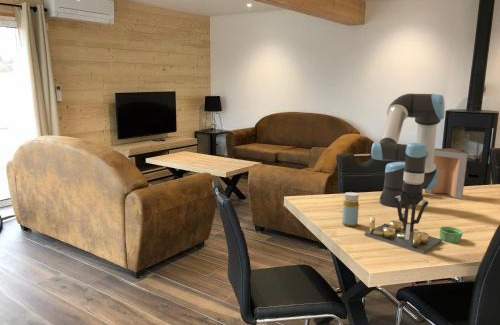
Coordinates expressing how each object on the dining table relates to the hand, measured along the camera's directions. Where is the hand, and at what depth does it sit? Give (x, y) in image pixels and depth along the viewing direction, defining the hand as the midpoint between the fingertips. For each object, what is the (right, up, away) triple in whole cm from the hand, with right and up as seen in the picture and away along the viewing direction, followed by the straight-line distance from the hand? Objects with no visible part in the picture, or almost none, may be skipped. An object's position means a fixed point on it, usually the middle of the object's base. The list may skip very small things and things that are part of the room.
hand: (407, 238), depth 160 cm
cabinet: (+55, +11, +80) cm, 98 cm away
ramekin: (+22, -3, +9) cm, 24 cm away
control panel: (+2, -2, +9) cm, 9 cm away
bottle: (-17, +1, +25) cm, 31 cm away
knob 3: (+5, -2, +1) cm, 6 cm away
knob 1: (-7, 0, +9) cm, 12 cm away
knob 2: (+3, +1, +18) cm, 18 cm away
